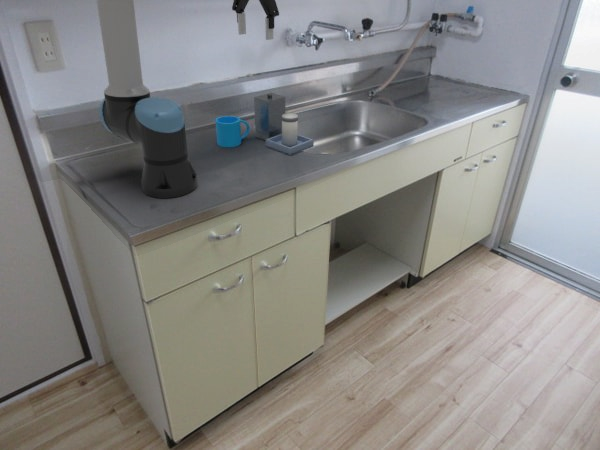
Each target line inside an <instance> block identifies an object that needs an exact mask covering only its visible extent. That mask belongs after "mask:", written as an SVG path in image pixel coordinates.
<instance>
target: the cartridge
mask: <svg viewBox="0 0 600 450" xmlns="http://www.w3.org/2000/svg"><path fill="white" fill-rule="evenodd" d="M298 123H299V115H298V114H296V113H292V112H287V113H286V112H285V114H283V115H282V145H285V146H287V147H293V146H296V145H298V142H297V135H298V134H299V133H298V130H299V129H298V128H299V124H298Z"/></svg>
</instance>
